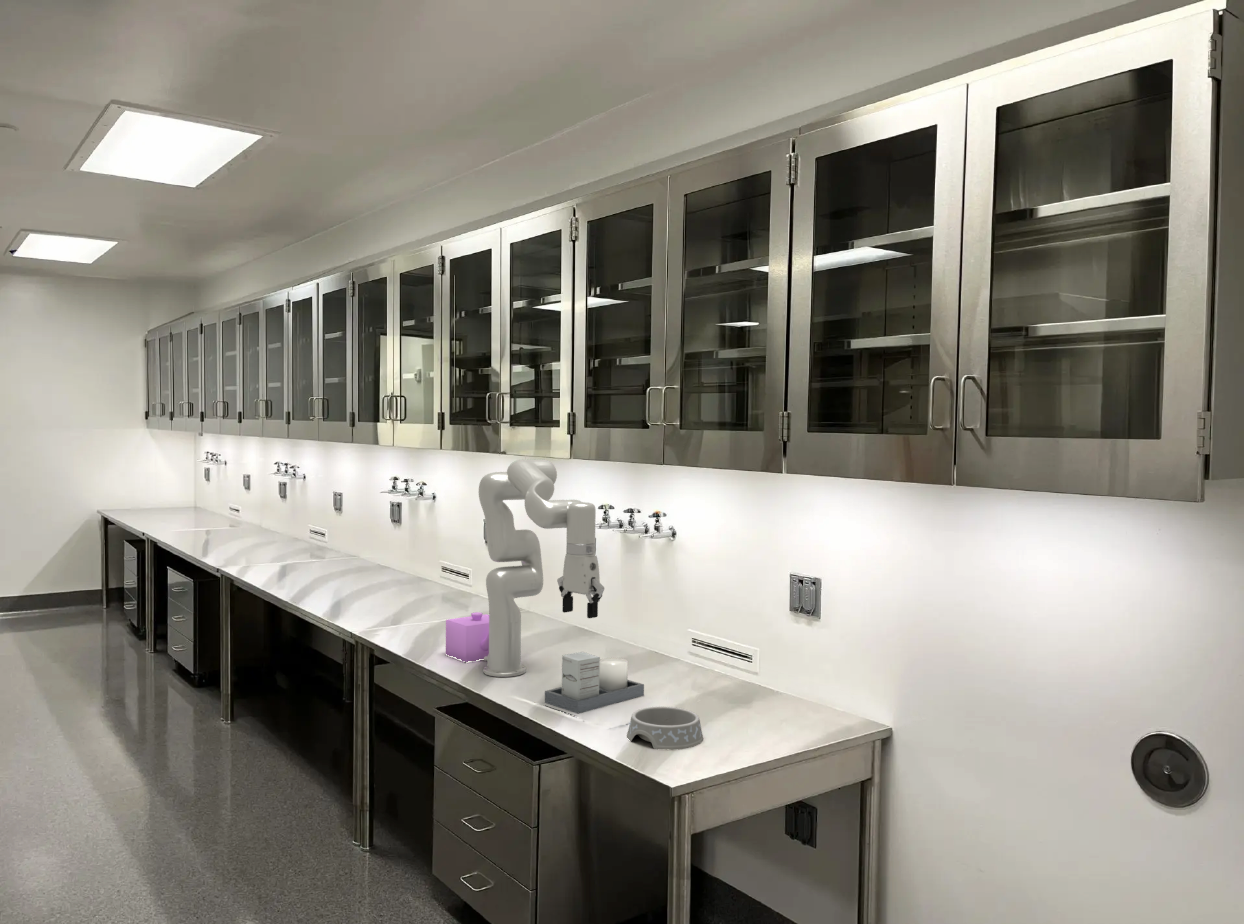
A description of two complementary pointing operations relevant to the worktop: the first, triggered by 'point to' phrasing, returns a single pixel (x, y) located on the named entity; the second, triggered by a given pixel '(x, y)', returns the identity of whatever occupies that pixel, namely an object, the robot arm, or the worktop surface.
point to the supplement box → (580, 675)
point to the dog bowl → (666, 727)
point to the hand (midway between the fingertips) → (579, 614)
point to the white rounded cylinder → (613, 674)
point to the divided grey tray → (593, 698)
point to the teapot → (468, 637)
